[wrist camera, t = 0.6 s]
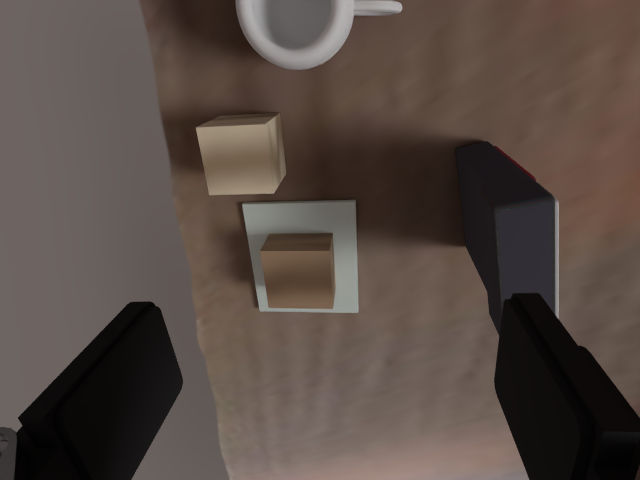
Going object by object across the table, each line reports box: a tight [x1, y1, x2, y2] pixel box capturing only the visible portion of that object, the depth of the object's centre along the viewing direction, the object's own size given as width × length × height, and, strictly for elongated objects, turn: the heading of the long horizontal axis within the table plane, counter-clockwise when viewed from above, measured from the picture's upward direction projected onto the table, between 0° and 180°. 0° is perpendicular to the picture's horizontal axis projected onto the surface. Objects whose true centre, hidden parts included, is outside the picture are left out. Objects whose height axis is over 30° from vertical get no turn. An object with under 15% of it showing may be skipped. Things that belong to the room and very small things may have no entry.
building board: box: [242, 200, 358, 313], centre depth 44 cm, size 14×12×1 cm
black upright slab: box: [455, 141, 559, 336], centre depth 32 cm, size 11×4×15 cm, turn 15°
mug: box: [236, 0, 402, 70], centre depth 29 cm, size 12×8×8 cm
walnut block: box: [260, 233, 336, 309], centre depth 42 cm, size 7×7×4 cm
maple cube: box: [196, 113, 286, 195], centre depth 36 cm, size 6×6×6 cm
